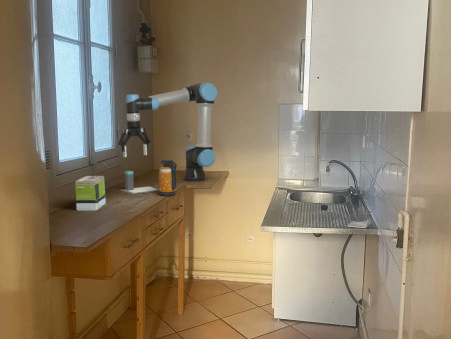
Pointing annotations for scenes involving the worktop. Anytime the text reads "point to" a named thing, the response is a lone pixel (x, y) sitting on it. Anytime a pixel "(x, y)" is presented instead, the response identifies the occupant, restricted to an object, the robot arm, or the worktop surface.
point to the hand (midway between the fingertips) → (135, 156)
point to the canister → (167, 178)
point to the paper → (141, 190)
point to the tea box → (90, 193)
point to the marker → (129, 180)
